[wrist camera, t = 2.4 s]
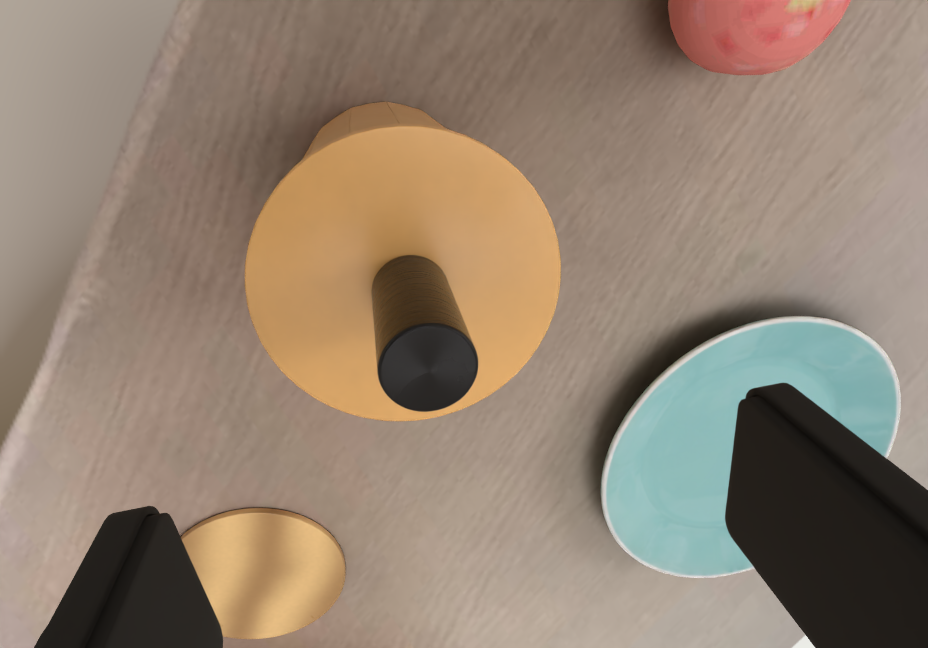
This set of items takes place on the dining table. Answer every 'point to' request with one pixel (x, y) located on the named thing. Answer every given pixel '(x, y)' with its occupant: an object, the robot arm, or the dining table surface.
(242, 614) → the coaster
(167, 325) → the dining table surface
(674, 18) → the apple
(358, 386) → the shaker lid
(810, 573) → the robot arm
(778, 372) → the plate
